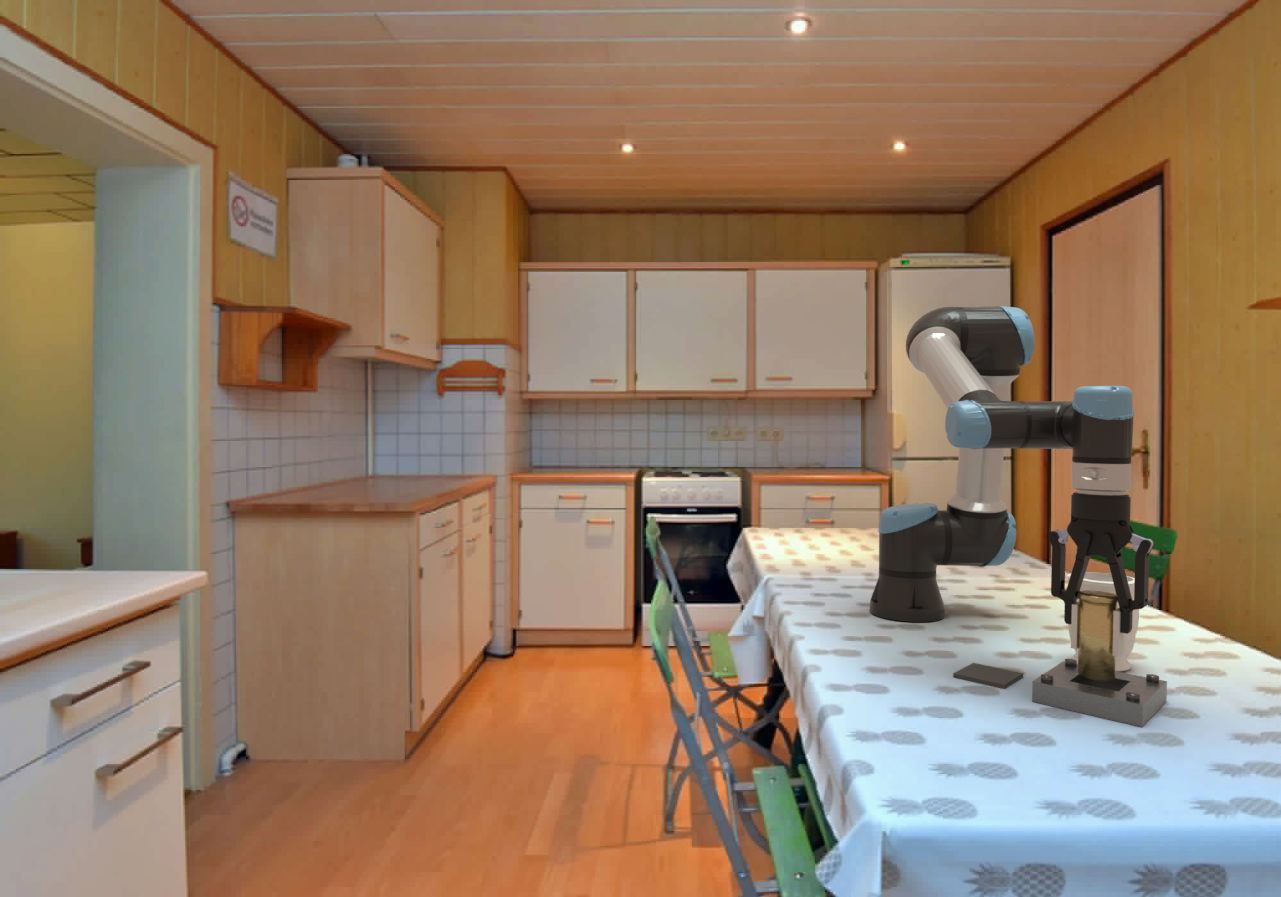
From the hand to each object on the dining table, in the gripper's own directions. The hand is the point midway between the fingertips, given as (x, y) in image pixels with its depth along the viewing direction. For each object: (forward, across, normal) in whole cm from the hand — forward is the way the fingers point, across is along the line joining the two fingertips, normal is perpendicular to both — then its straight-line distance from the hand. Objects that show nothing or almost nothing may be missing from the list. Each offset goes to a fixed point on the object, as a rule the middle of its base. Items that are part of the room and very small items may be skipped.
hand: (1096, 650), depth 118 cm
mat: (+8, -16, 0) cm, 17 cm away
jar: (+8, -4, +20) cm, 22 cm away
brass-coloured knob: (+4, 0, 0) cm, 4 cm away
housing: (+7, 0, 0) cm, 7 cm away
